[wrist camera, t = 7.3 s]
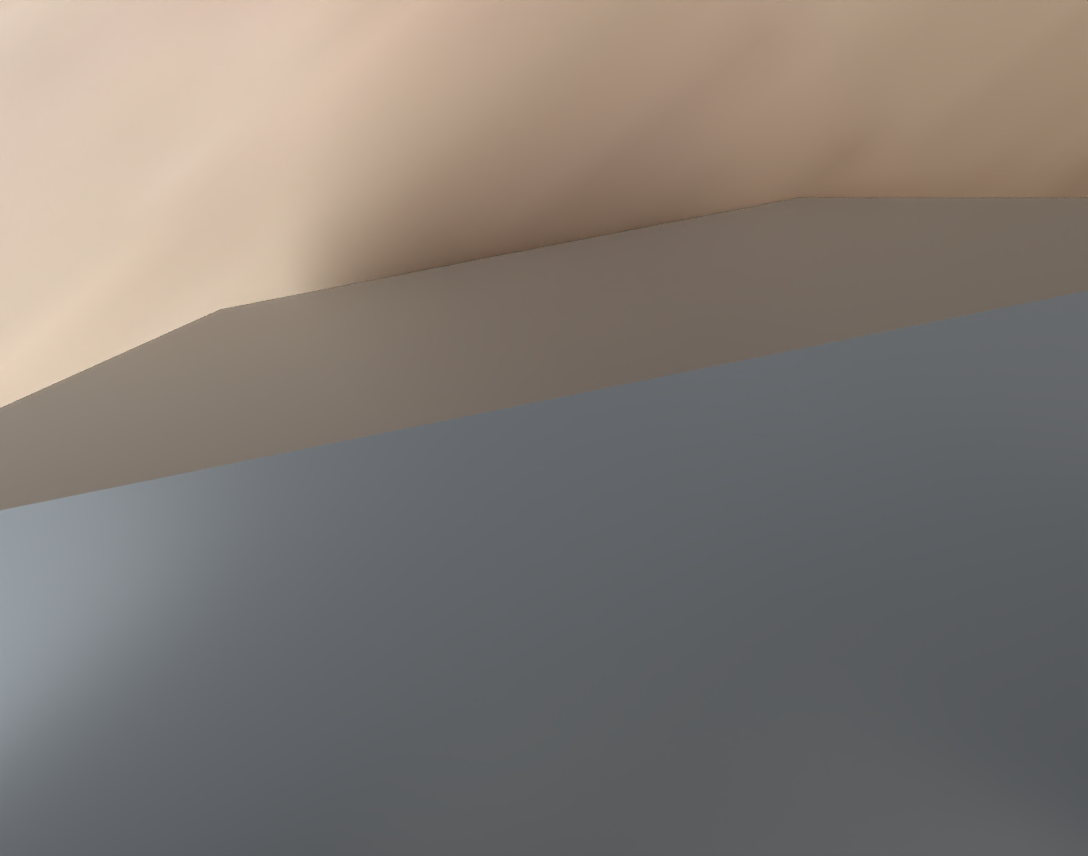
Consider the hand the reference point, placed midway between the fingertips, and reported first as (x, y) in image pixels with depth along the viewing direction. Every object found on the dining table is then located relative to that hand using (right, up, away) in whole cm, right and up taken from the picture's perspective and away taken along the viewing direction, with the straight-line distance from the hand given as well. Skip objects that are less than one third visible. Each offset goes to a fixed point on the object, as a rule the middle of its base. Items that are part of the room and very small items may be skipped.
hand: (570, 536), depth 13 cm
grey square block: (0, 0, +1) cm, 1 cm away
